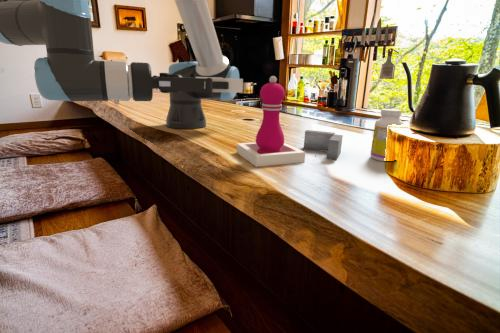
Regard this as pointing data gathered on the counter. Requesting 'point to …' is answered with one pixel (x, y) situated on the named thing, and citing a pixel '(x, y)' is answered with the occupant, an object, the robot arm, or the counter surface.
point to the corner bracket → (324, 142)
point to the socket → (270, 155)
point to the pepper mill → (271, 118)
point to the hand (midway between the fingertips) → (231, 84)
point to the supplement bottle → (383, 132)
